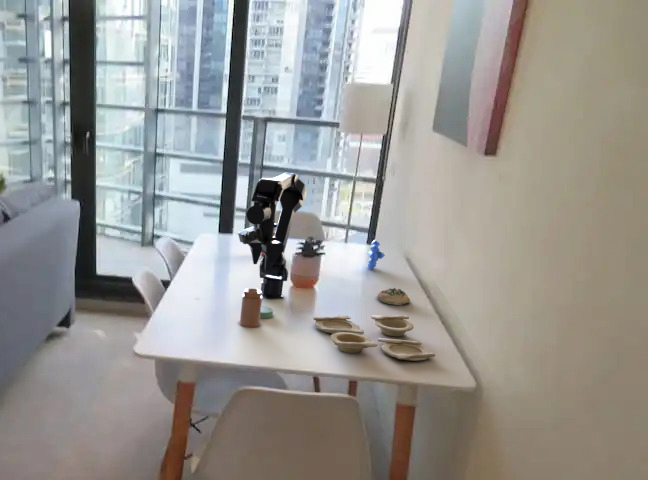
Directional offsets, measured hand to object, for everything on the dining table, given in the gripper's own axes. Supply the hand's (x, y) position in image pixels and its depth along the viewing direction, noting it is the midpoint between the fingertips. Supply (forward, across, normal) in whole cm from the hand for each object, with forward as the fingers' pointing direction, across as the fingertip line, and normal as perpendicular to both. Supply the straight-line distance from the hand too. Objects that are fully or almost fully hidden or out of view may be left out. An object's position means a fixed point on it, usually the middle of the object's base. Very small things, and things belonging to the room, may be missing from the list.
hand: (260, 267), depth 234 cm
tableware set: (+13, +37, +20) cm, 44 cm away
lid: (+12, +9, -2) cm, 15 cm away
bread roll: (+13, +2, +51) cm, 53 cm away
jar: (+13, +17, -10) cm, 24 cm away
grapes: (+13, -39, +69) cm, 80 cm away
